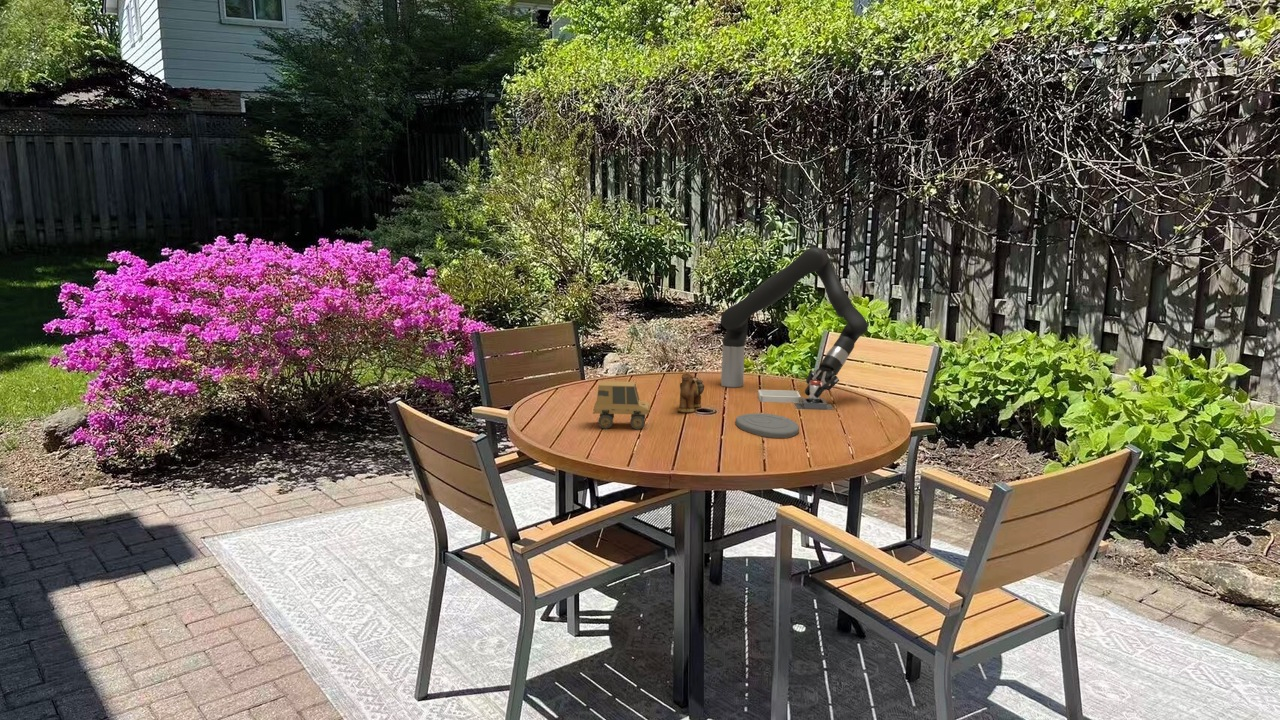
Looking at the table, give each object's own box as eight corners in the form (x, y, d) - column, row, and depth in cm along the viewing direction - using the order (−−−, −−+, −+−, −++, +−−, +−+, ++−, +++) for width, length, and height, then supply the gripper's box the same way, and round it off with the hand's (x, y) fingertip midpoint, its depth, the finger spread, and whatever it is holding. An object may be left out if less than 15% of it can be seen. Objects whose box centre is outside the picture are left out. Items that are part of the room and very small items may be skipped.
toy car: (648, 430, 300) (649, 387, 297) (592, 429, 301) (593, 386, 298) (648, 422, 310) (649, 381, 307) (594, 421, 311) (595, 379, 308)
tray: (760, 403, 340) (760, 396, 340) (757, 396, 352) (758, 389, 351) (800, 404, 340) (801, 397, 339) (797, 398, 351) (797, 390, 351)
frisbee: (763, 441, 290) (763, 434, 289) (723, 421, 314) (724, 414, 314) (814, 436, 298) (815, 428, 297) (772, 417, 322) (772, 410, 322)
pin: (809, 407, 332) (810, 381, 331) (807, 405, 336) (809, 379, 334) (820, 407, 332) (821, 382, 330) (818, 405, 336) (819, 379, 334)
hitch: (796, 410, 330) (797, 403, 330) (793, 405, 339) (794, 397, 339) (834, 411, 330) (834, 404, 329) (830, 406, 339) (830, 398, 338)
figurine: (671, 413, 323) (672, 373, 321) (684, 404, 337) (685, 366, 335) (696, 416, 320) (697, 375, 317) (707, 406, 334) (709, 368, 331)
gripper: (815, 351, 341) (792, 385, 336) (844, 357, 330) (821, 393, 325) (824, 363, 345) (801, 397, 340) (853, 369, 334) (829, 405, 329)
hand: (811, 395), depth 332 cm, fingers closed on pin, 4 cm apart
